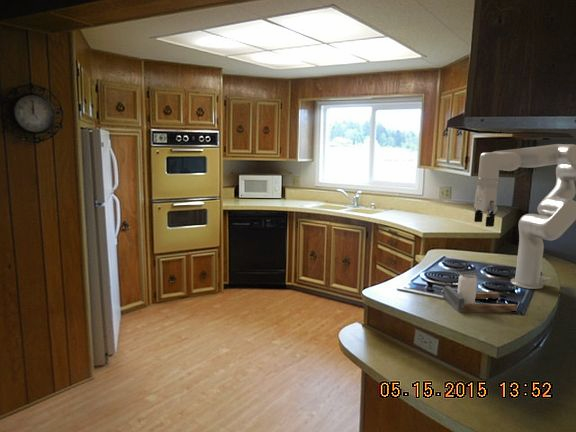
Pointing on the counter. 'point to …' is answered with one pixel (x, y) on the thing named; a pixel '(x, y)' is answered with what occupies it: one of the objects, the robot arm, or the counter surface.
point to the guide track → (459, 305)
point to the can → (467, 287)
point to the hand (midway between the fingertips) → (483, 224)
